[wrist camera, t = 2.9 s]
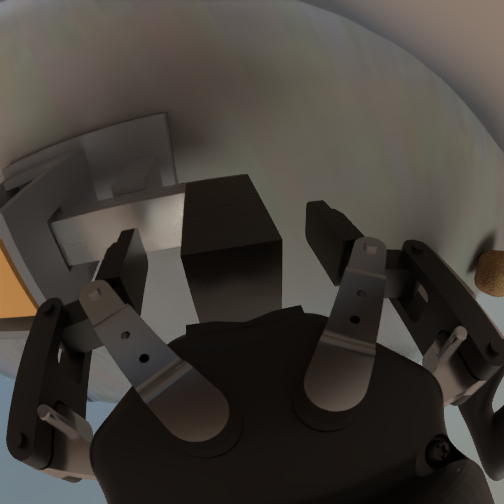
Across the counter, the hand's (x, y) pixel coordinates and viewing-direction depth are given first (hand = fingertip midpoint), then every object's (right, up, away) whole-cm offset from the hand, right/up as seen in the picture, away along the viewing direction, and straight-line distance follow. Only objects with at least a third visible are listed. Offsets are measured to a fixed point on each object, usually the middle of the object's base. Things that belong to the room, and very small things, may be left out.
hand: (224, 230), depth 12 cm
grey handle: (-8, +1, +2) cm, 8 cm away
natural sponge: (+45, -2, +25) cm, 52 cm away
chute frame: (-12, +4, +7) cm, 15 cm away
